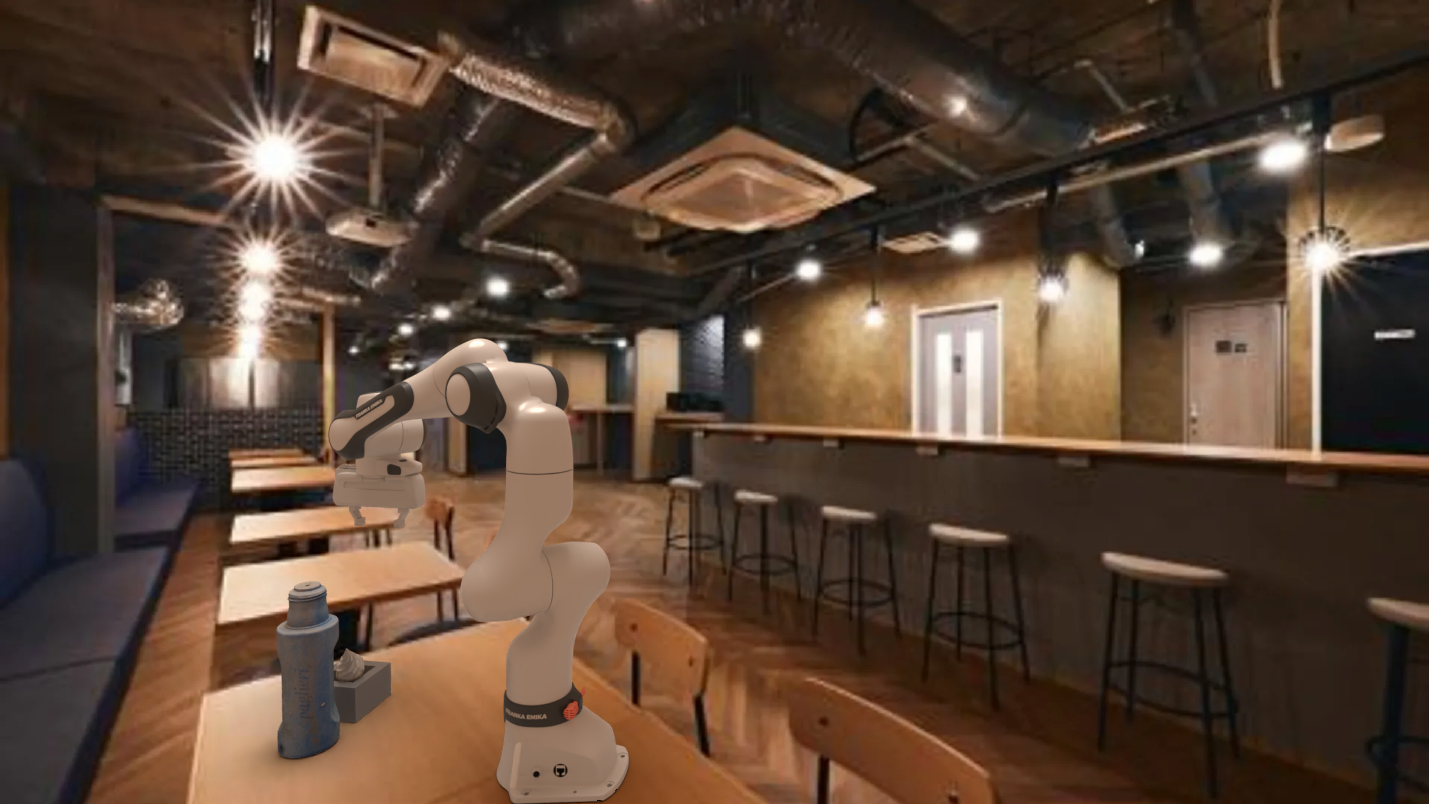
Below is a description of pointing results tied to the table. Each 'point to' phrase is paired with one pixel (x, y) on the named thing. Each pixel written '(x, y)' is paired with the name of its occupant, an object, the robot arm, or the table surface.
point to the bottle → (307, 673)
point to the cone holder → (362, 691)
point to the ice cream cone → (350, 667)
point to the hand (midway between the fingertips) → (379, 526)
